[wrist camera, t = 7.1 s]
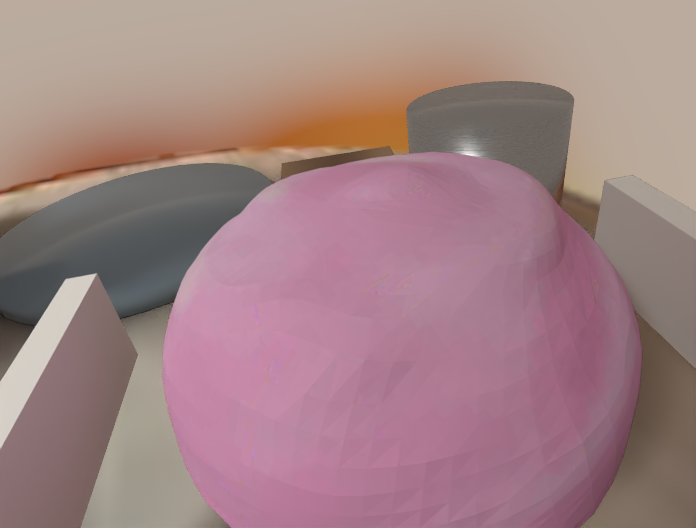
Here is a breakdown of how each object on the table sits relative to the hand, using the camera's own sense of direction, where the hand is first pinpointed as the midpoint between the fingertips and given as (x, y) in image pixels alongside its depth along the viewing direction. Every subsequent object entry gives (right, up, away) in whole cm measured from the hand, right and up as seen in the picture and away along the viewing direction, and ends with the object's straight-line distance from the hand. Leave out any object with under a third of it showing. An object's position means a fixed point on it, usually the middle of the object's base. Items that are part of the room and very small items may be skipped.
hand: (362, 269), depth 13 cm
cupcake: (+1, -7, +1) cm, 7 cm away
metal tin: (+6, -1, +9) cm, 10 cm away
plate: (-13, +2, +17) cm, 22 cm away
